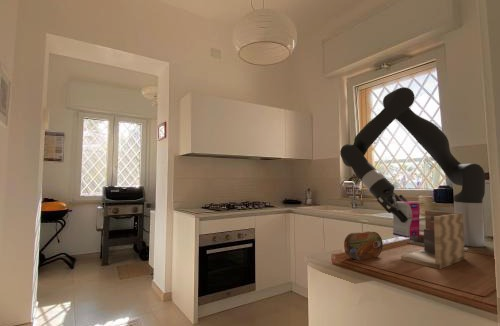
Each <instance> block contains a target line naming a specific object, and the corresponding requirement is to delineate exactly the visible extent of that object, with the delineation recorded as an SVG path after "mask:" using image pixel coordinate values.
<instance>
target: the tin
mask: <svg viewBox="0 0 500 326" xmlns="http://www.w3.org/2000/svg"><path fill="white" fill-rule="evenodd" d="M382 239H383V238H382V237H381V235H380V234H379V233H378V232H376V231H361V232H360V231H359V232H351V233H349V234H347V235H346V237H345V238H344V240H343V241H344V242H343V249H344V252H345V254H346V256H347V257H349V258H351V259H354V260H356V261H360V260H366V259H374V258H376V257H379V256H380V254H381V253H382V251H383V244H384V242H383V240H382Z"/></svg>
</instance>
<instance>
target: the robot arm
mask: <svg viewBox="0 0 500 326" xmlns="http://www.w3.org/2000/svg"><path fill="white" fill-rule="evenodd" d="M415 99H416V97H415V93H414V91H413V90H412V89H411V88H410V87H406V86H405V87H404V86H402V87H399V88H398V87H397V88H396V89H394V90H392V91H390V92H389V93H387V94H385V95H384V97H383V99H382V104H383V109H382V110H381V111H380V112H379V113H378V114H377V115H375V117H373V118H372V119H371V120H370V121H369V122H367V123H366V124H365V125H364V126H363V128H362V129H361V130H360V131H359V132H358V133H357V134H356V135H355V137H354V140H353V144H351V143H348V144H346V143H345V144H344V145H343V146H342V147H341V148H340V151H339V152H340V153H339V154H340V157H341V161H342V162H343V164H344V165H345V167H348V168H349V167H350V168H351V169H352V170H353V173H354V174H355V175H356V177H357V178H358V179H359V180H360V182H361V183H362V184H363V185H364V187H365V188H366V189H367V190H368V191H369V193H371V195H372V196H373V197H374V198H375V199H376V201H377V202H378V203H379V204H380V206H381V207H382V208H383V209H384V210H385V211H386V213H389V214H392V215H393V214H395V215H396V216H397V218H398V219H399V220H400V221H401V222H402V223H405V222H406V221H407V220H408V218H407V217H406V216H405V215H404V214H403V213H402V211H401V210H399V208H398V203H397V201H405V202H409V201H408V200H407V199H406V198H405V197H404V196H403V194H399V195H398V194H397V193H395V192H394V191H395V186H394V185H393V183H391V182H390V181H389V180H388V179H387V178H386V177H385V175H384V174H383V173H381V172H380V171H379V170H378V169H376V167H374V165H373V164H372V163H371V162H370V161H368V159H367V158H366V157H365V156H366V153H367V152H368V150H369V148H370V147H371V146H372V145H373V144H374V143H375V141H377V139H378V138H379V137H380V135H382V133H383V132H384V131H385V130H386V129H387V128H388V127H389V126H390V125H391V124H392V122H394V121H395V120H396V121H397V122H399V123H400V124H401V125H402V126H403V127H404V129H405V130H407V131H408V133H409V134H410V135H411V136H412V137H413V138H414V139H415V140H416V142H417V143H418V144H419V145H420V146H421V147H422V148H423V149H424V150H425V151H426V153H428V154H429V156H430V157H431V158H432V160H433V161H434V162H436V163H437V164H438V166H439V167H440V169H441V171H442V172H443V173H444V174H445V176H446V177H447V178H448V180H450V182H451V183H452V184H453V185H456V186H461V191H459V192H458V193H455V194H454V196H453V208H454V210H453V211H454V212H453V213H463V225H464V246H467V247H474V248H476V247H477V248H483V247H485V233H484V231H485V230H484V229H485V227H484V226H485V225H484V210H483V209H484V207H483V200H484V197H485V194H486V175H485V174H486V172H485V171H484V169H483V167H482V166H481V165H480V164H477V163H473V162H472V163H461V162H460V161H459V160H458V159H457V158H456V157H454V155H453V153H452V151H451V148H450V147H451V146H450V142H449V138H448V137H447V135H446V134H445V133H444V132H443V131H442V130H441V129H440V127H439V126H437V124H435V123H433V122H431V121H430V120H428V119H426V118H424V117H422V116H420V115H418V114H417V113H415V112H414V111H413V110H412V109H411V108H410V107H411V106H413V104H414V101H415Z"/></svg>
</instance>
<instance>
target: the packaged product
mask: <svg viewBox="0 0 500 326" xmlns="http://www.w3.org/2000/svg"><path fill="white" fill-rule="evenodd" d="M409 240H410V241H409V243H410V244H409V243H408V244H409V245H414V244H415V245H414V246H419V245H420V247H423V246H424V232H421V231H419V237H410V238H409ZM467 250H468V251H469V247H464V252H467Z"/></svg>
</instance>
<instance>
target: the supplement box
mask: <svg viewBox="0 0 500 326" xmlns="http://www.w3.org/2000/svg"><path fill="white" fill-rule="evenodd" d="M397 203H398V208H399V210H401V211H402V213H403V214H404V215H405V216H406V217H407V218H408V220H407V221H406V222H405V223H402V222H401V221H400V220H399V219H398V218H397V216H396V215H395V214H392V215H393V216H392V219H393V220H392V235H393V236H396V237H401V238H406V239H410V237H419V232H420V214H421V212H420V208H421V207H420V206H421V203H420V202H410V201H408V202H405V201H397Z"/></svg>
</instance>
